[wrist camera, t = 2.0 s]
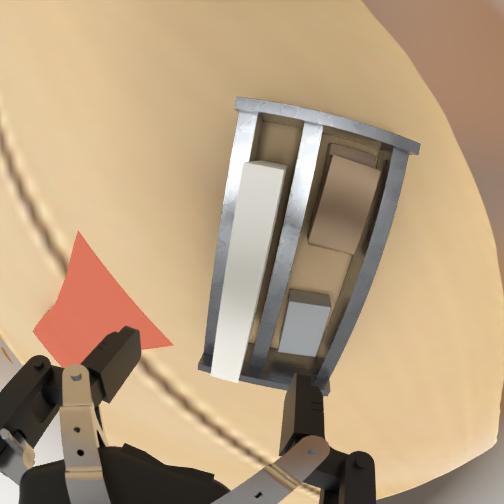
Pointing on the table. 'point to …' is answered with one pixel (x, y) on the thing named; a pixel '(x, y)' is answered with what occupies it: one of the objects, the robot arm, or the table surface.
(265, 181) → the white flat board
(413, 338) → the table surface
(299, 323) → the offcut
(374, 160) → the offcut
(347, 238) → the offcut
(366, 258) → the rack
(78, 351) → the sheet
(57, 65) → the table surface
